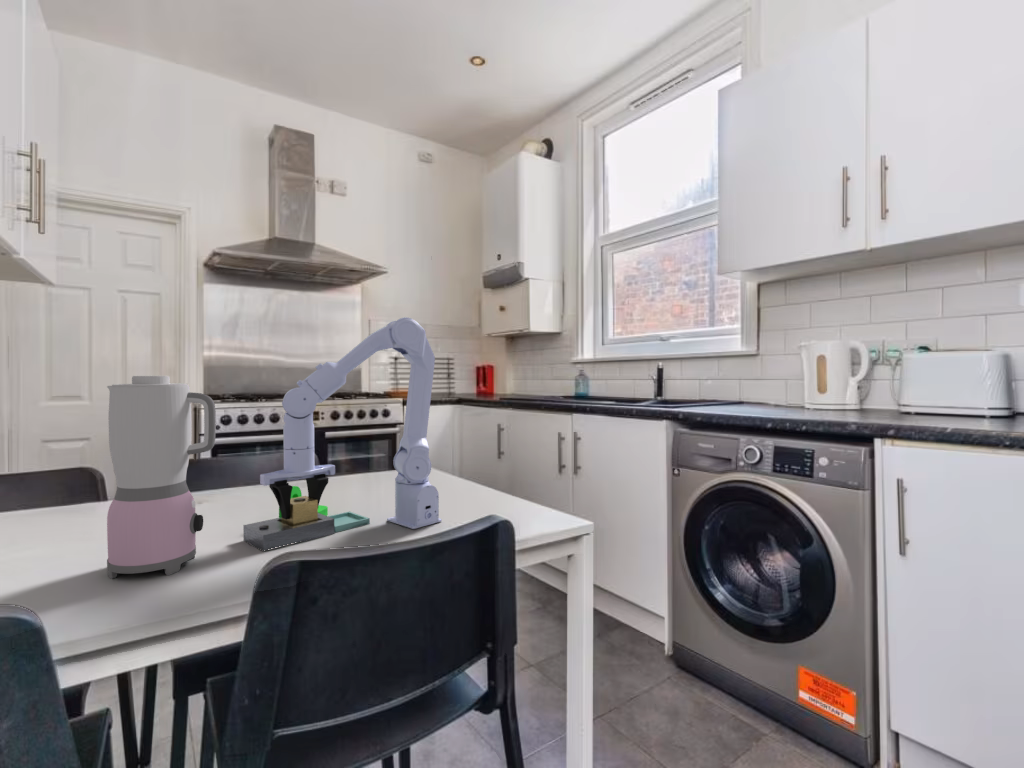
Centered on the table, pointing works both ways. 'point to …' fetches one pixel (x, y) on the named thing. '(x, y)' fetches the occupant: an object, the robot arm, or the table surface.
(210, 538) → the table surface
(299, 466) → the robot arm
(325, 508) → the mechanical part
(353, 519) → the tray
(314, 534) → the grey slotted block
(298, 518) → the block
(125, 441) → the blender
